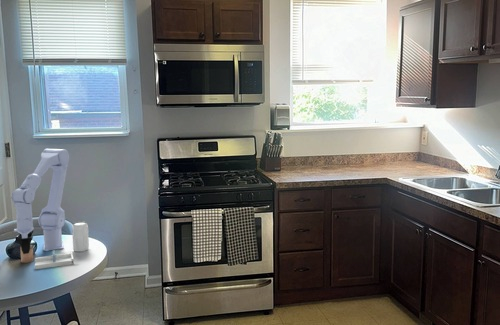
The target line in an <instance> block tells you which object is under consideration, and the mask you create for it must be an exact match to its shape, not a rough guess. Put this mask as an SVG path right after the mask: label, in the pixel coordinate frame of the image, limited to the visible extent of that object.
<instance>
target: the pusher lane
mask: <svg viewBox="0 0 500 325" xmlns="http://www.w3.org/2000/svg"><path fill="white" fill-rule="evenodd" d="M55 256H56V262H53V254H52V255H45V256H38V257H34V262H35V264H34V270H41V269H46V268H47V269H49V268H54V267H55V268H56V267H61V266H69V265H74V255H73V251H70V252H68V253H60V254H55Z"/></svg>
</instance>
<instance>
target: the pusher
mask: <svg viewBox="0 0 500 325" xmlns="http://www.w3.org/2000/svg"><path fill="white" fill-rule="evenodd" d="M51 251H52V255H53V262H56V256H55V255H56V249H55V250H51Z"/></svg>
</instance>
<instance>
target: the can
mask: <svg viewBox="0 0 500 325" xmlns="http://www.w3.org/2000/svg"><path fill="white" fill-rule="evenodd" d="M71 230H72V234H71V235H72V249H73V251H74V252H76V253H83V252H86V251H88V250H90V249H89V248H90V243H89V242H90V240H89V237H90V236H89V225H88V223H87V221H75V222H73V223H72V228H71ZM82 251H83V252H82Z"/></svg>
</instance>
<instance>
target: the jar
mask: <svg viewBox="0 0 500 325" xmlns="http://www.w3.org/2000/svg"><path fill="white" fill-rule="evenodd" d="M19 248H20V260H21V262H20V263H23V264H26V263H31V262H33V261H35V258H34V246H33V245H32V244H30V251H29V253H27V254H23V252H22V248H21V246H20V247H19Z"/></svg>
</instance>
